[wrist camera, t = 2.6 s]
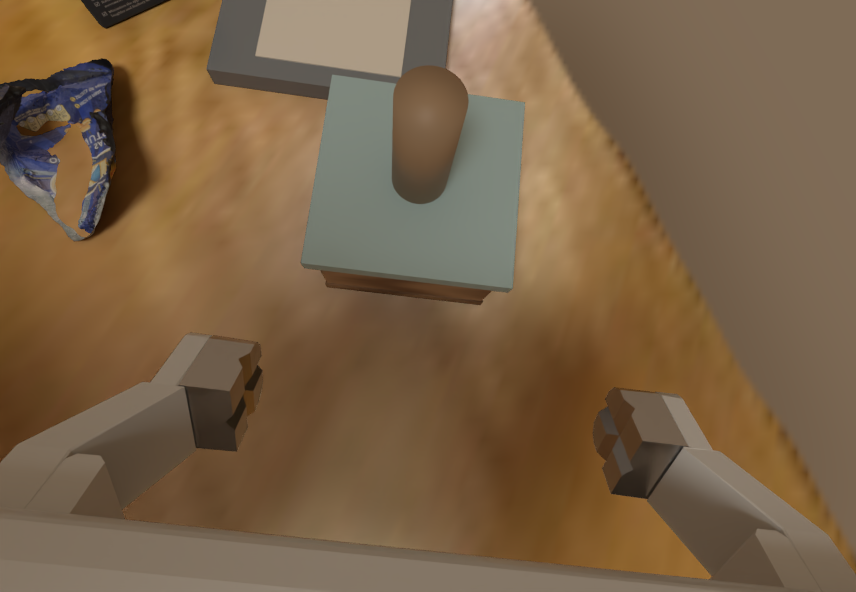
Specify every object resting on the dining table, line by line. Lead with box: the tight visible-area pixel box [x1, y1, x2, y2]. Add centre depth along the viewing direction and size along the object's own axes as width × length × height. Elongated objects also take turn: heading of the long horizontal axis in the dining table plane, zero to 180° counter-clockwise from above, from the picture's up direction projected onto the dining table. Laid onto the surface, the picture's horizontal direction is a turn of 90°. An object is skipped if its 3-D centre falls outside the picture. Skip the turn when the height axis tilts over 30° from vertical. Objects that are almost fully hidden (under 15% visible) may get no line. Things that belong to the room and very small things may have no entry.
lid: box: [301, 65, 525, 293], centre depth 23 cm, size 11×11×8 cm
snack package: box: [0, 58, 117, 241], centre depth 30 cm, size 12×6×12 cm
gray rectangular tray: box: [207, 0, 453, 100], centre depth 34 cm, size 16×13×2 cm
